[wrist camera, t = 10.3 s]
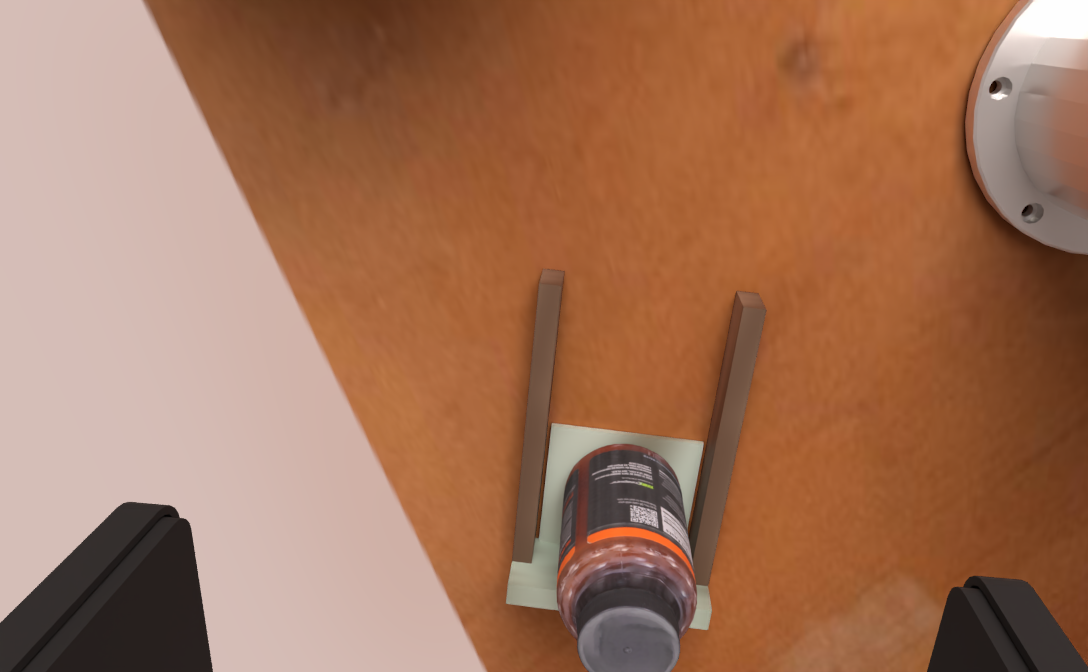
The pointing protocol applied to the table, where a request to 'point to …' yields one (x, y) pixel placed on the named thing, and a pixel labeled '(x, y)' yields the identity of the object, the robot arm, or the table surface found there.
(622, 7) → the table surface
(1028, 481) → the table surface
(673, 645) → the supplement bottle
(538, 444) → the guide rail
